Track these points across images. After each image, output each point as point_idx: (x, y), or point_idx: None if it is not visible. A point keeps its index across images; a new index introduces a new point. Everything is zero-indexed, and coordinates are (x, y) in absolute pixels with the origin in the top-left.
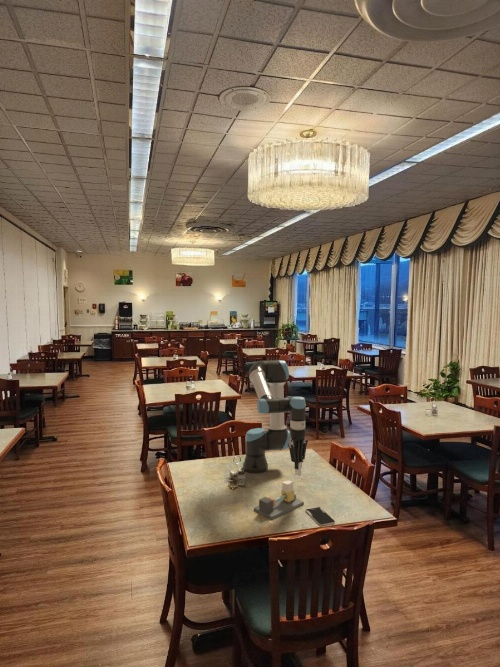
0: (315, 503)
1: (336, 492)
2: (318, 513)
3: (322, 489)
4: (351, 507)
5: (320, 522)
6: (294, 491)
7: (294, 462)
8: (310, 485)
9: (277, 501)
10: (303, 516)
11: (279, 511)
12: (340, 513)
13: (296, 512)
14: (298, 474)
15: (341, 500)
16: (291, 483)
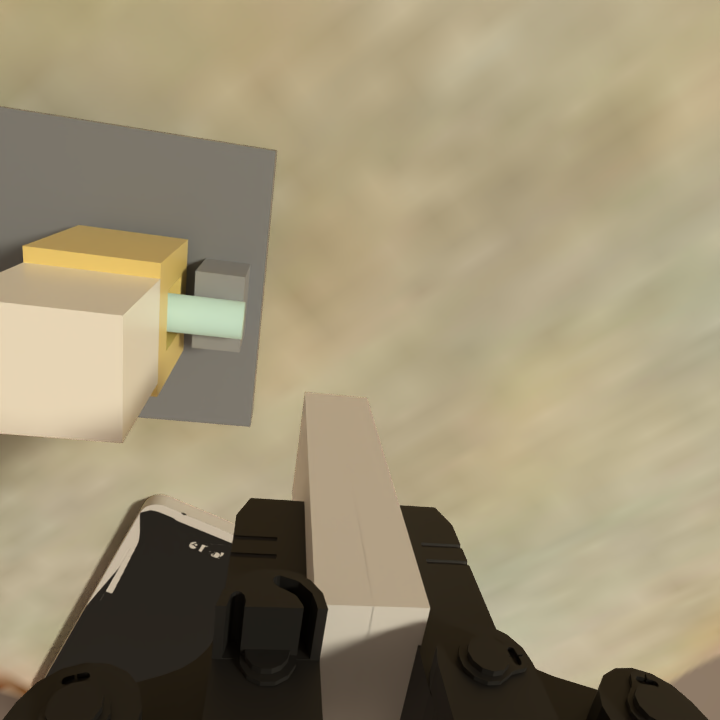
0: None
1: (656, 496)
2: (171, 611)
3: (659, 374)
4: None
5: None
6: (237, 337)
7: (208, 650)
8: (700, 222)
9: (23, 196)
10: (53, 535)
11: None
12: None
13: (59, 455)
14: (293, 488)
15: (528, 592)
16: (75, 434)
